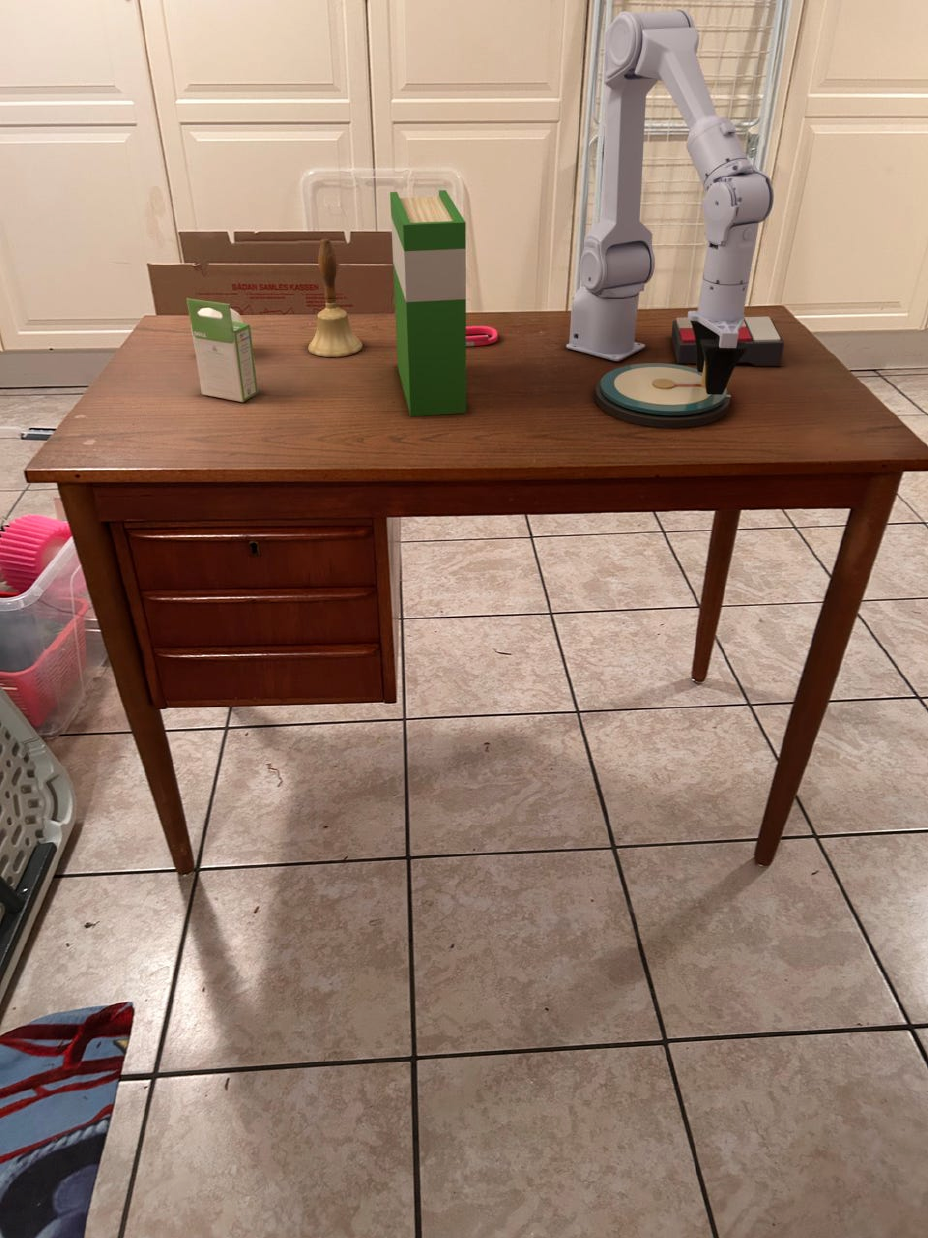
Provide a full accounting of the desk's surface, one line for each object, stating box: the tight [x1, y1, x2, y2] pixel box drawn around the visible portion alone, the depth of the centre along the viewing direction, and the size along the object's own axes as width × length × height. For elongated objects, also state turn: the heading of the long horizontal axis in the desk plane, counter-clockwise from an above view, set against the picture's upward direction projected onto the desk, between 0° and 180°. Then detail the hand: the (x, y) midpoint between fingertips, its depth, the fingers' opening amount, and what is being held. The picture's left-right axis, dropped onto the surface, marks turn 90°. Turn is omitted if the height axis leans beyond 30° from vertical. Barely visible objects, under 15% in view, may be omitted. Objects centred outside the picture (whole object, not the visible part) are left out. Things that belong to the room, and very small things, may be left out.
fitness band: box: [466, 325, 499, 348], centre depth 149 cm, size 8×6×2 cm
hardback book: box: [389, 189, 467, 417], centre depth 127 cm, size 18×7×24 cm, turn 9°
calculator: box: [670, 316, 785, 367], centre depth 144 cm, size 11×4×15 cm
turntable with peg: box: [600, 360, 728, 415], centre depth 128 cm, size 17×17×5 cm
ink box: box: [186, 297, 259, 403], centre depth 128 cm, size 7×4×13 cm, turn 65°
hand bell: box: [307, 237, 364, 358], centre depth 142 cm, size 8×8×16 cm
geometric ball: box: [198, 307, 244, 323], centre depth 142 cm, size 8×8×8 cm
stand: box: [594, 380, 732, 429], centre depth 130 cm, size 18×18×1 cm
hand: (709, 382), depth 128 cm, fingers open, 7 cm apart
